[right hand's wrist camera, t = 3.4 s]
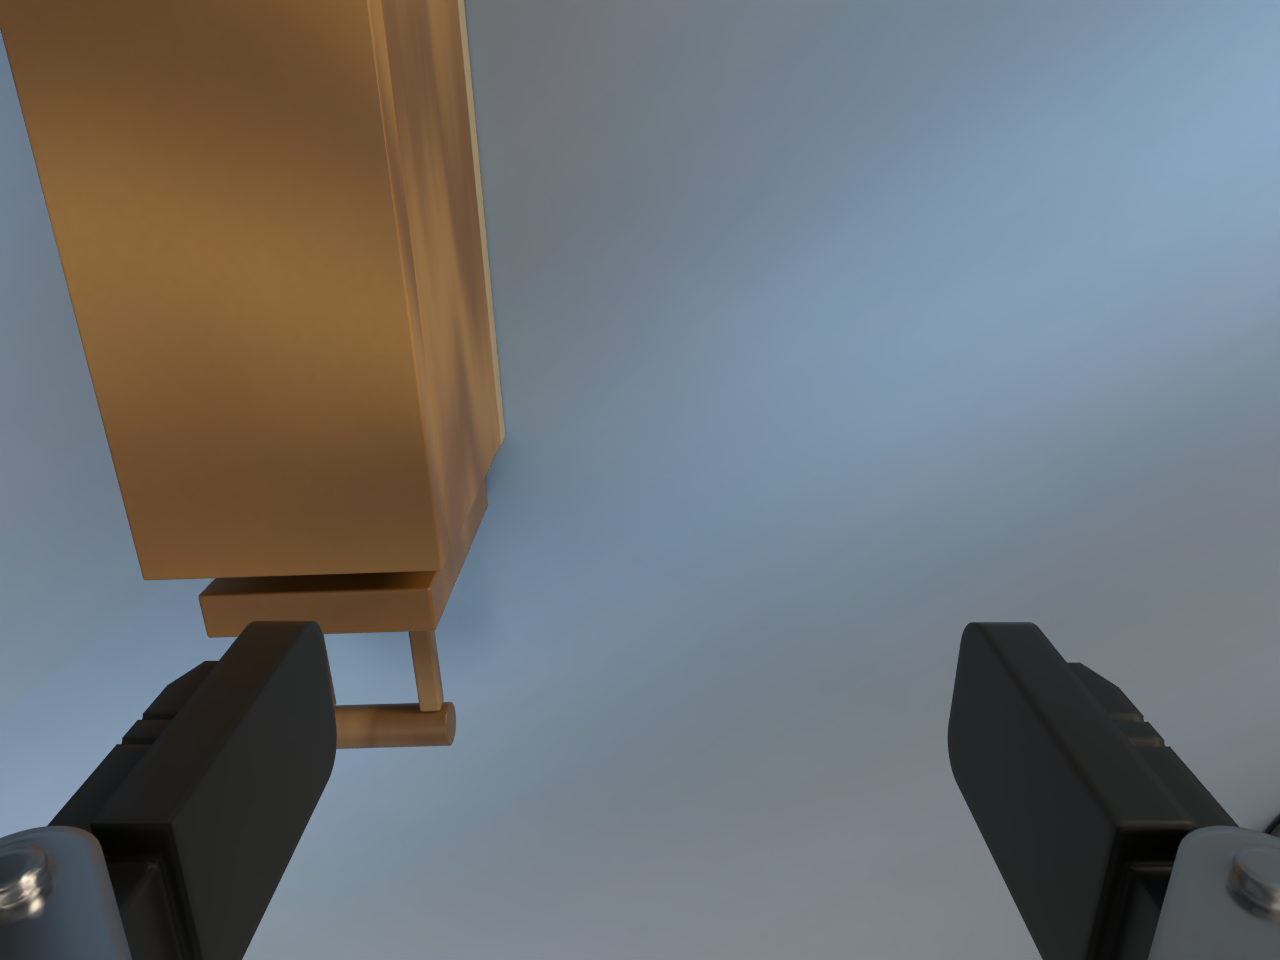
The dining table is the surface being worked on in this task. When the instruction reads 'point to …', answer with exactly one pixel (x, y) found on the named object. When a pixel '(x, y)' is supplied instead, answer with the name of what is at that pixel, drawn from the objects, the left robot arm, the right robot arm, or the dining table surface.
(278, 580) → the drawer
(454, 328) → the cabinet
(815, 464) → the dining table surface
